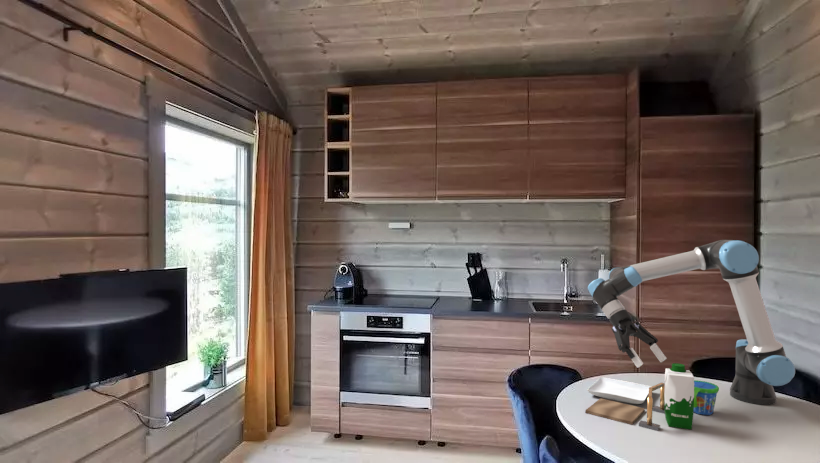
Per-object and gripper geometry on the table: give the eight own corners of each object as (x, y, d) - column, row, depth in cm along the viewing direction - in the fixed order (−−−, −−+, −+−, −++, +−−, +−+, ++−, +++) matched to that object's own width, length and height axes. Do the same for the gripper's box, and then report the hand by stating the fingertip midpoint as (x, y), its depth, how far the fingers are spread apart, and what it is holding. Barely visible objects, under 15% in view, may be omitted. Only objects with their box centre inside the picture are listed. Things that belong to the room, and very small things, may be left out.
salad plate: (600, 383, 213) (600, 375, 213) (654, 394, 200) (654, 385, 200) (585, 397, 195) (586, 389, 195) (644, 410, 183) (644, 400, 183)
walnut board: (644, 411, 181) (644, 408, 181) (632, 424, 169) (632, 421, 169) (600, 400, 191) (600, 398, 191) (585, 412, 179) (585, 410, 179)
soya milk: (690, 421, 172) (691, 364, 172) (695, 431, 164) (696, 371, 163) (662, 417, 175) (663, 361, 175) (665, 427, 167) (667, 368, 166)
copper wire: (672, 412, 180) (672, 383, 180) (657, 430, 164) (658, 399, 164) (654, 408, 184) (655, 380, 184) (638, 425, 168) (639, 395, 167)
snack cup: (697, 403, 189) (697, 376, 189) (726, 412, 181) (727, 384, 180) (675, 411, 181) (675, 384, 181) (705, 421, 172) (706, 392, 172)
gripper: (631, 317, 198) (666, 363, 186) (589, 323, 186) (623, 373, 173) (643, 306, 194) (680, 353, 181) (601, 311, 181) (637, 362, 169)
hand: (652, 363), depth 177 cm, fingers open, 13 cm apart
